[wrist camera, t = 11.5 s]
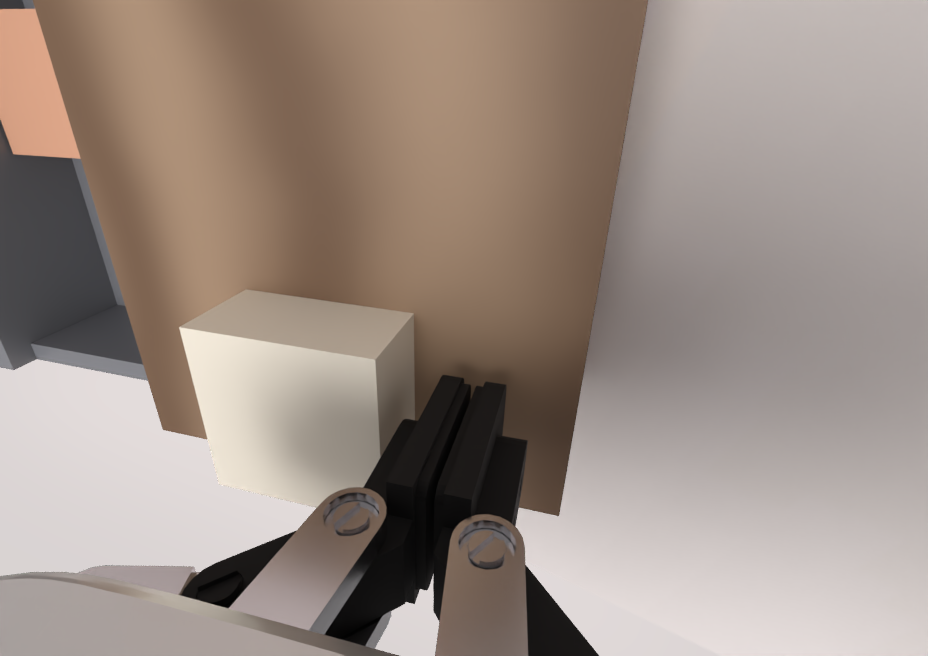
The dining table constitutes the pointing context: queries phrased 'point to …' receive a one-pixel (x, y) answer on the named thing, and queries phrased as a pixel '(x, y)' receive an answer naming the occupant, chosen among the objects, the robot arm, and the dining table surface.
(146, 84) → the wooden box
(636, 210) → the dining table surface
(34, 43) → the terracotta tile
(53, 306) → the box
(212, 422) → the cream tile
